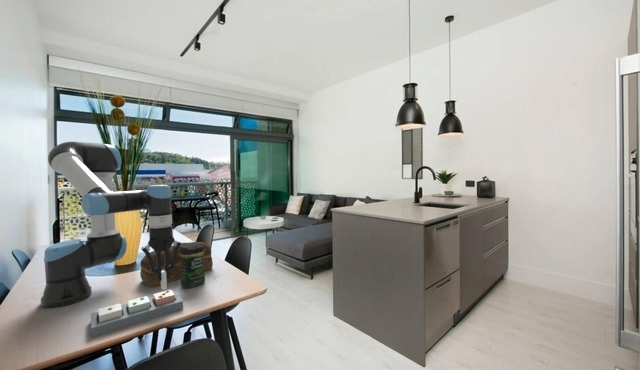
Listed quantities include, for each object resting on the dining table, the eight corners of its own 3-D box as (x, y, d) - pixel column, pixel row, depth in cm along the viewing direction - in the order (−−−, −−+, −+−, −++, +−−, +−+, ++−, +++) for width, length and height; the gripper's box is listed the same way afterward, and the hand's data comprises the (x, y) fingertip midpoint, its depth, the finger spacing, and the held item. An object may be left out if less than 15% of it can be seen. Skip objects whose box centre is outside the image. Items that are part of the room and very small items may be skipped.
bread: (137, 281, 126) (135, 248, 126) (202, 263, 151) (201, 235, 150) (148, 289, 117) (147, 254, 116) (216, 268, 142) (215, 239, 141)
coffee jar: (186, 290, 115) (185, 248, 114) (178, 285, 120) (176, 245, 119) (208, 283, 123) (206, 243, 122) (199, 279, 128) (198, 240, 127)
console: (91, 337, 82) (90, 328, 82) (91, 321, 91) (90, 313, 91) (183, 308, 99) (182, 300, 99) (175, 297, 108) (175, 290, 108)
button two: (129, 314, 91) (129, 306, 91) (127, 308, 96) (127, 300, 95) (150, 308, 95) (149, 301, 95) (147, 302, 99) (147, 295, 99)
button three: (156, 306, 96) (156, 299, 96) (153, 300, 101) (153, 293, 101) (174, 301, 100) (174, 294, 100) (171, 295, 105) (170, 289, 105)
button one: (99, 323, 86) (98, 315, 86) (98, 316, 90) (98, 308, 90) (122, 316, 90) (121, 308, 90) (120, 310, 94) (120, 302, 94)
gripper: (141, 230, 92) (144, 297, 93) (182, 225, 101) (185, 286, 102) (138, 227, 98) (141, 290, 99) (177, 222, 106) (180, 280, 107)
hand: (163, 288), depth 100 cm, fingers closed
